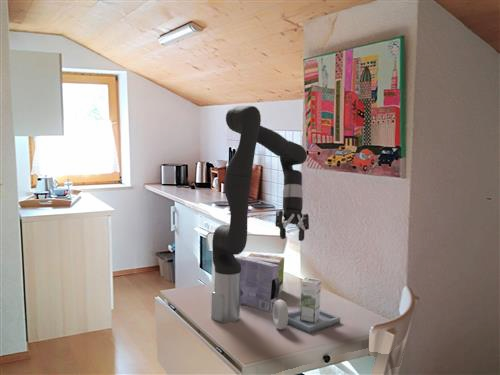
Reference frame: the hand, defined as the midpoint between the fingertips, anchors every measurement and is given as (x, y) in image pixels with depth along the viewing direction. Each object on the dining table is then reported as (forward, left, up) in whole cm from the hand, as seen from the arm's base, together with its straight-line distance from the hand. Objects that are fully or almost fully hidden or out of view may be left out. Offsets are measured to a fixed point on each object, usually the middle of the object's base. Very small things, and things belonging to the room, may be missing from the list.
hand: (292, 239), depth 194 cm
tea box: (+4, +20, -27) cm, 33 cm away
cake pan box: (-10, +9, -27) cm, 30 cm away
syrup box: (-5, -15, -26) cm, 30 cm away
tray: (-5, -15, -26) cm, 31 cm away
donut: (-18, -13, -26) cm, 35 cm away
